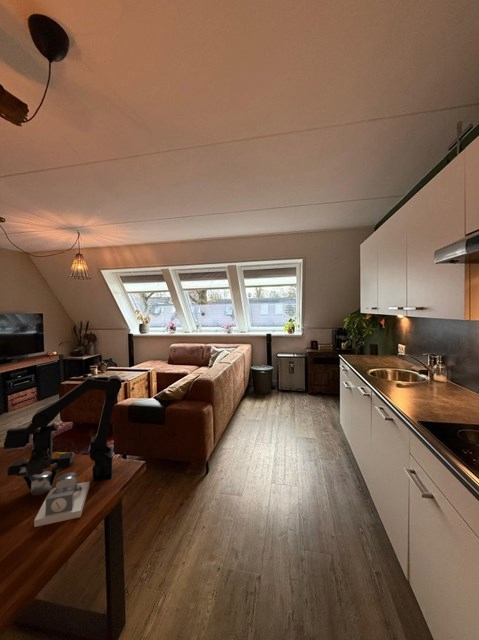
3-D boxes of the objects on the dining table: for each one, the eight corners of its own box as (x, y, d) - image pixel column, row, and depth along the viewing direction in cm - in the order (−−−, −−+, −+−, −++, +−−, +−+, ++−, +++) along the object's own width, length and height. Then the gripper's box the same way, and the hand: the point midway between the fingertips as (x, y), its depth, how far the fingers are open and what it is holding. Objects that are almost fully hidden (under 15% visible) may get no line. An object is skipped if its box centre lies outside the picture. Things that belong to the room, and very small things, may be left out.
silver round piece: (78, 485, 93) (78, 471, 93) (74, 495, 88) (75, 480, 88) (58, 488, 91) (59, 474, 91) (53, 499, 85) (53, 484, 86)
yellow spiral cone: (76, 466, 112) (57, 456, 106) (66, 469, 113) (46, 460, 107) (81, 453, 116) (62, 444, 110) (71, 457, 117) (53, 448, 111)
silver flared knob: (53, 483, 99) (53, 470, 99) (48, 493, 93) (48, 478, 93) (34, 486, 97) (34, 473, 97) (28, 496, 91) (28, 482, 91)
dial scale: (89, 486, 97) (89, 467, 97) (80, 516, 82) (80, 494, 82) (51, 494, 93) (51, 474, 93) (34, 527, 78) (34, 503, 78)
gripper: (-1, 459, 84) (-3, 507, 84) (66, 449, 91) (65, 494, 91) (14, 444, 95) (13, 487, 95) (74, 436, 101) (73, 477, 101)
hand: (41, 486), depth 95 cm, fingers closed on silver flared knob, 6 cm apart
